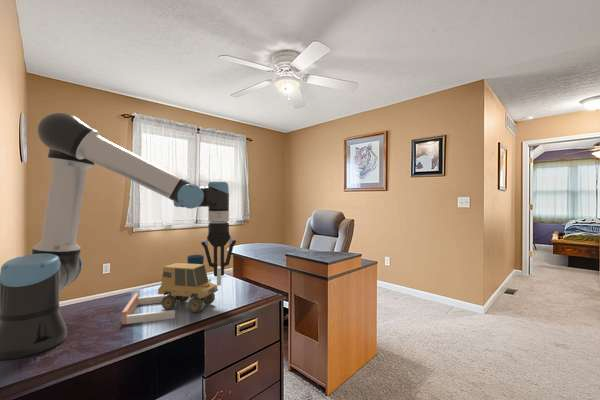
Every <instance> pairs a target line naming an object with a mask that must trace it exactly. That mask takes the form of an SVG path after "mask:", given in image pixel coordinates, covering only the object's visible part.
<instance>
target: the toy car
mask: <svg viewBox="0 0 600 400" xmlns="http://www.w3.org/2000/svg"><path fill="white" fill-rule="evenodd" d="M207 274H208V273H207V269H206V265H205V264H204V263H203V264H188V262H187V263H185V262H175V263H172V264H168V265H165V266H163V267H162V277H161V285H160V286H159V287H158V290H157V295H164V296H165V295H167V296H165V297H164V298H163V299H162V302H161V306H162V308H163V309H164V310H165V311H168V310H173V308H175V307H176V304H177V302H179V303H185V302H186V301H188V300H189V298H190V300H189V302H188V304H187V305H188V309H189V311H190V312H192V313H199V312H201V310H202V309H203V307H204V305H211V304H212V303H214V302H215V299H216V297H215V296H216V295H215V293H216V292H218V291H219V289H218V286H217V284H215V283H212V282H211V279H209V277H208V275H207ZM171 295H174V297H175V296H176V297H175V298H174V297H173V296H171ZM176 300H178V301H176Z"/></svg>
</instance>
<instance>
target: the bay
mask: <svg viewBox="0 0 600 400" xmlns="http://www.w3.org/2000/svg"><path fill="white" fill-rule="evenodd" d="M139 294H140V293H139V292H138V293H137V292H136V293H134V294H133V296H132V297H131V298H130V300H129V302H128V303H127V304H126V306H125V307H124V308H123V310H122V311H121V325H129V324H137V323H146V322H154V321H162V320H165V321H166V320H172V319H176V310H175V309H170V310H161V311H153V312H152V311H151V312H143V313H142V312H141V313H135V314H134V312H135V310H136V309H137V307H138V306H139V305H150V304H159V303H161V302H162V299H163V298H164V297H165V296H167V294H166V295H165V296H164V294H158V295H149V296H140V295H139ZM139 296H140V297H139ZM171 296H173V297H174V295H171ZM175 297H176V296H175ZM175 297H174V298H175ZM176 302H179V301H178V300H176ZM161 304H162V303H161Z"/></svg>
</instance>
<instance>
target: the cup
mask: <svg viewBox="0 0 600 400" xmlns="http://www.w3.org/2000/svg"><path fill="white" fill-rule="evenodd" d="M204 258H205V255H203V254H189V255H188V256H187V258H186V260H187V264H204Z"/></svg>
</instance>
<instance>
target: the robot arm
mask: <svg viewBox="0 0 600 400" xmlns="http://www.w3.org/2000/svg"><path fill="white" fill-rule="evenodd" d="M37 136H38V138H39V139H40V141H41V143H42V144H44V146H45V147H47V148H48V149H49V150H48V155H47V160H48V161H49V163H51V164H52V172H51V178H50V184H49V189H48V193H47V194H48V195H47V201H46V208H45V212H44V220H43V225H42V231H41V236H40V241H39V242H38V243H37V244H35V245H33V247H32V251H31V254H26V255H23V256H18V257H14V258H10V259H9V260H7V261H5V262H3V264H2V265H1V267H0V361H2V360H3V361H5V360H12V359H20V358H24V357H29V356H33V355H35V354H38V353H42V352H44V351H47V350H50V349H51V348H55V347H56V346H58V345H59V344H61V343H62V342H64V341H65V340H66V338H67V337H68V328H67V327H68V326H67V325H66V322H65V320H64V318H63V316H62V313H61V311H60V291H62V290H63V289H65V288H66V287H67V286H70V285H71V284H72V283H73V282H75V281H76V279H77V278H78V277H79V276H80V274H81V271H82V269H83V260H82V258H81V257H80V255H81V249H82V247H81V246H80V245H79V244H78V243H77V240H78V239H77V237H78V232H79V231H78V230H79V226H80V218H81V215H82V214H81V212H82V207H83V200H84V195H85V194H84V193H85V188H86V182H87V175H88V171H89V170H90V169H92V168H94V167H95V164H96V165H98V166H100V167H102V168H105V169H106V170H109V171H111V172H112V173H115V174H117V175H119V176H121V177H123V178H125V179H127V180H130V181H131V182H133V183H136V184H138V185H140V186H142V187H144V188H146V189H148V190H151V191H153V193H156V194H159V195H161V196H163V197H164V198H167V199H169V200H171V201H173V206H174V207H176V208H187V209H191V210H192V209H195V208H198V207H199V208H201V207H208V213H207V214H208V218H207V219H208V222H209V223H208V228H207V229H208V235H207V237H206V239H204V240H201V246H202V247H203V249H204V251H205V256H206V259H207V263H208V266H209V267H211V268H213V276H214V277H216V285H217V287H218V286H221V285H222V276H225V267H227V266H229V265H230V261H231V257H232V253H233V250H234V247H235V245H236V243H237V241H236V239H234V238H232V237H231V235H230V223H229V221H230V189H229V183H228V182H227V181H214V180H213V181H209V182H208V185H207V186H199V185H197V184H194V183H191V182H190V181H187V180H185V179H183V178H182V177H180V176H178V175H176V174H174V173H172V172H170V171H168V170H166V169H165V168H162V167H161V166H158V165H157V164H154V163H152V162H150V161H149V160H147V159H144V158H143V157H141V156H139V155H137V154H135V153H133V152H131V151H130V150H127V149H125V148H124V147H121V146H119V145H117V143H116V144H115V143H113V142H112V141H109V140H108V139H106V138H104V137H102V136H101V135H100V133H99V131H98V130H96V129H94V128H93V127H91V126H90V125H88V124H86V123H85V122H84V121H82V120H81V119H80V118H78V117H77V116H75V115H72V114H69V113H65V112H53V113H50V114H48V115H46V116H44V117H43V118H41V120H40V121H39V123H38V125H37ZM209 243H210V245H211V246H212V247H213V262H212V258H211V254H210V249H209V247H208V245H209ZM228 243H229V246H228V249H227V253H226V258H225V246H226V245H227V244H228ZM218 248H220V259H219V263H220V265H219V266H218Z"/></svg>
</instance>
